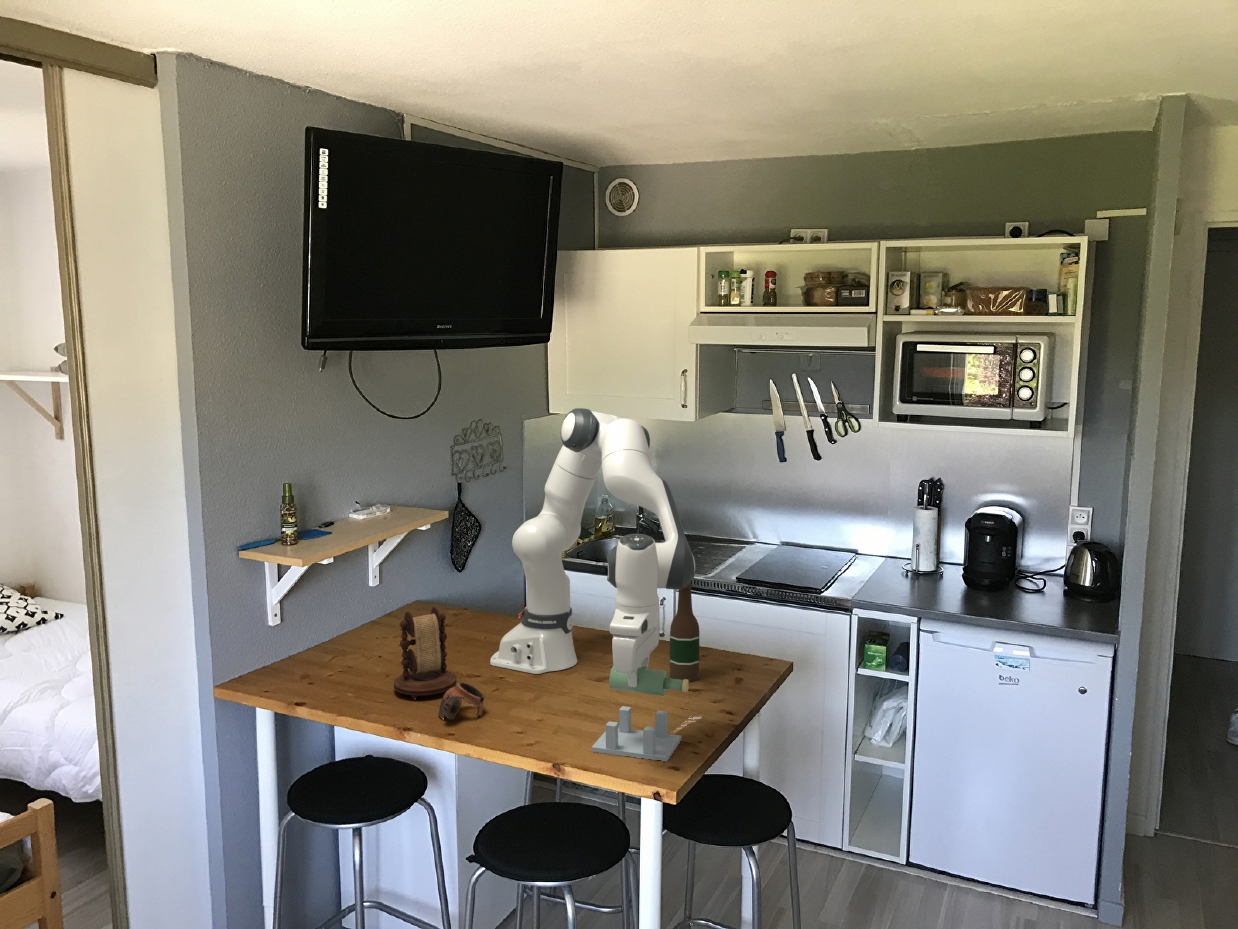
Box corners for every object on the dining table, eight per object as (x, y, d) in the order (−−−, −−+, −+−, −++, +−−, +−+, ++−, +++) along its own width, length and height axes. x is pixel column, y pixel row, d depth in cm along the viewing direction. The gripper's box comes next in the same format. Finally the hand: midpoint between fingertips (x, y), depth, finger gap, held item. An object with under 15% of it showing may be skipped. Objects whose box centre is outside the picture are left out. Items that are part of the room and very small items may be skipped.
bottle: (609, 693, 203) (609, 669, 202) (616, 684, 208) (617, 661, 207) (684, 702, 198) (684, 678, 197) (690, 693, 203) (690, 670, 202)
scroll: (407, 706, 227) (404, 622, 225) (385, 687, 240) (381, 607, 237) (466, 693, 235) (464, 611, 233) (441, 675, 248) (439, 597, 245)
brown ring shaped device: (443, 708, 227) (461, 677, 228) (477, 730, 225) (494, 698, 225) (423, 715, 216) (441, 682, 216) (458, 738, 214) (477, 704, 214)
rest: (591, 751, 202) (591, 723, 202) (609, 731, 213) (609, 704, 212) (667, 762, 197) (667, 733, 197) (681, 740, 208) (681, 713, 207)
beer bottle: (663, 679, 243) (663, 584, 240) (676, 669, 250) (676, 577, 247) (692, 684, 240) (693, 588, 236) (705, 674, 246) (705, 580, 243)
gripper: (637, 600, 212) (638, 662, 214) (606, 628, 193) (607, 696, 195) (666, 602, 210) (666, 665, 212) (637, 631, 191) (638, 699, 193)
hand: (638, 680), depth 203 cm, fingers closed on bottle, 5 cm apart
